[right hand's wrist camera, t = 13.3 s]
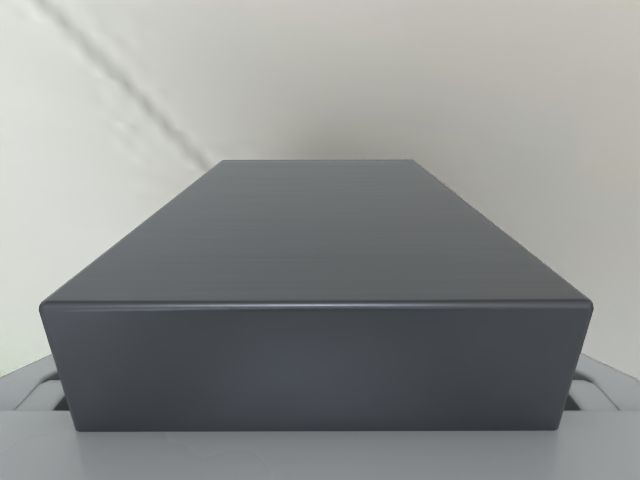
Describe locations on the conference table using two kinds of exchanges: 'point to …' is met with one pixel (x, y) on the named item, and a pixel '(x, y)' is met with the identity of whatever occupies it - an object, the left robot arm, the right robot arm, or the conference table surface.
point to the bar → (316, 311)
